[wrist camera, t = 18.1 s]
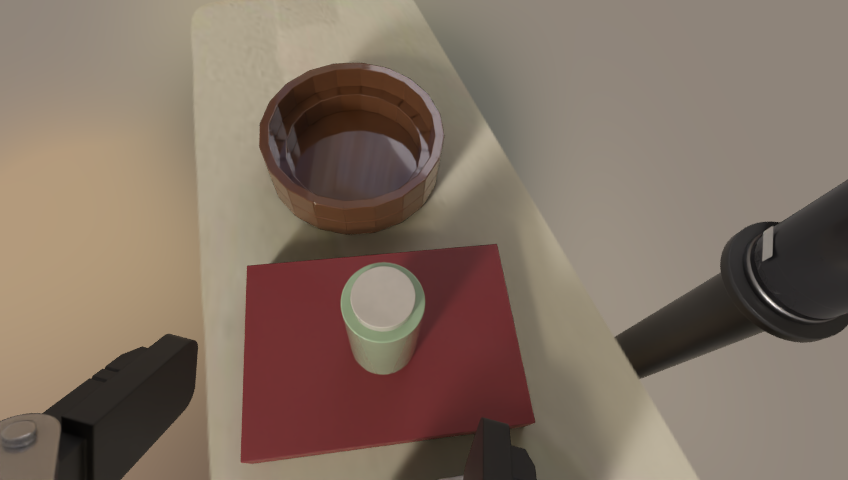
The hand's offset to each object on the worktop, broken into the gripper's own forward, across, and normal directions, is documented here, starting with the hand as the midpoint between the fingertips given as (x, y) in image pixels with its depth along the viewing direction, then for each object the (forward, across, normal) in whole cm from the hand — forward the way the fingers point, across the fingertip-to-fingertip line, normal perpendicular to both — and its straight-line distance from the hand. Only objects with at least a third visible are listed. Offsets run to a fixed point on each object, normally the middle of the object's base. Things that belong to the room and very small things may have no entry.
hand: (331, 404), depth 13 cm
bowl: (+34, +8, 0) cm, 35 cm away
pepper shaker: (+20, +1, +10) cm, 23 cm away
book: (+22, +1, +12) cm, 25 cm away
